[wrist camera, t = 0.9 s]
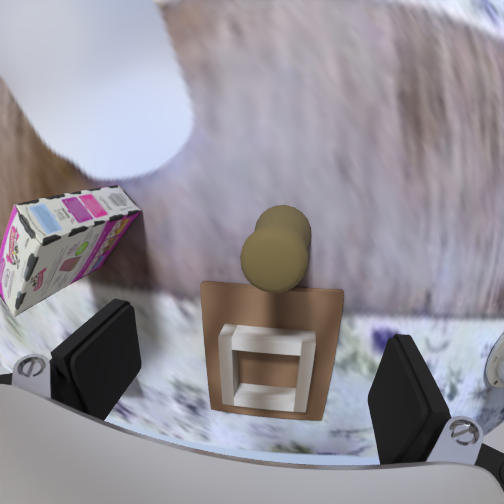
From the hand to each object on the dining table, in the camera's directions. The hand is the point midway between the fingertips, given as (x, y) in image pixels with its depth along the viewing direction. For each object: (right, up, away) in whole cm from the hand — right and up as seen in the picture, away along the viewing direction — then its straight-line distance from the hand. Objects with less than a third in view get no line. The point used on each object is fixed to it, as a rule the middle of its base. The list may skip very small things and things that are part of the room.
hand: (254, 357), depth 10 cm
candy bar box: (-19, +7, +25) cm, 32 cm away
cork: (+3, +6, +22) cm, 23 cm away
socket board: (+2, -10, +26) cm, 28 cm away
